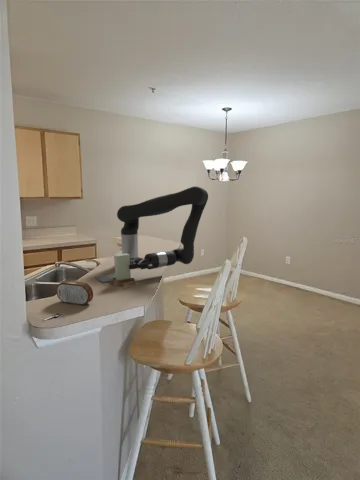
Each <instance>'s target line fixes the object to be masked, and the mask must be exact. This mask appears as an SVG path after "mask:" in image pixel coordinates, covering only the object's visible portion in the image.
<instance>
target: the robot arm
mask: <svg viewBox="0 0 360 480" xmlns="http://www.w3.org/2000/svg"><path fill="white" fill-rule="evenodd" d="M208 200H209V194H208V192H207V190H205V189H204V188H203V187H200V186H199V185H198V186H196V185H194V186H191V187H187V188H186V189H183V190H181V191H178V192H174V193H168V194H165V195H161V196H157V197H153V198H151V199H148V200H147V199H146V200H145V201H142V202H140V203H135V204H131V205H129V204H128V205H123V206H120V207H119V208H118V210H117V213H116V217H117V219H118V220H119V221H120V222H122V223H123V226H122V227H121V230H120V236H121V237H120V238H121V239H120V241H121V254H125V253H127V254H130V265H129V269H130V271H131V270H135V269H136V270H137V269H138V270H154V269H155V270H156V269H161V268H164V267H169V266H173V265H175V264H176V263H181V264H184V265H189V264H191V263H192V261H193V259H194V258H195V257H194V256H195V246H194V245H195V240H196V237H197V231H198V228H199V227H198V226H199V224H200V221H201V218H202V214H203V213H204V209H205V208H206V206H207V203H208ZM189 205H191V210H190V213H189V216H188V217H187V220H186V221H185V224H184V226H183V229H182V232H181V236H180V243H181V244H182V246H183V247H182V248H181V247H180V248H175V249H172V250H169V251H163V252H160V251H159V252H151V253H146V254H145V255H144V257H139V236H138V230H139V229H140V227H139V226H140V219H139V218H144V217H146V218H147V217H152V216H153V217H154V216H158V215H164V214H167V213H170V212H172V211H173V210H175V209H177V208H179V207H183V206H189Z"/></svg>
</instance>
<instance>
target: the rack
mask: <svg viewBox="0 0 360 480" xmlns="http://www.w3.org/2000/svg"><path fill="white" fill-rule="evenodd" d="M130 281H133V282H135V278H134V277H131V278H130V279H124V280H119V281H116V280H115V277H114V278H110V282H109V283H110V284H112V285H113V286H114V287H119V286H120V287H121V285H122V283H126V282H130Z"/></svg>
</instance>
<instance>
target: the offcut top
mask: <svg viewBox="0 0 360 480" xmlns="http://www.w3.org/2000/svg"><path fill="white" fill-rule="evenodd" d="M132 285H136V286H137V284H136V281H134V282H133V281H130V282H126V283H122V286H124V287H126V288H128V287H127V286H131V287H133V286H132ZM122 286H121V287H122ZM124 287H123V288H124Z"/></svg>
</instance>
